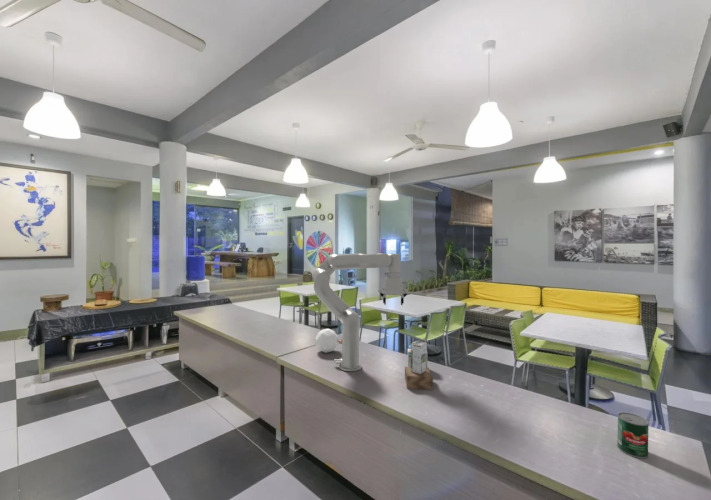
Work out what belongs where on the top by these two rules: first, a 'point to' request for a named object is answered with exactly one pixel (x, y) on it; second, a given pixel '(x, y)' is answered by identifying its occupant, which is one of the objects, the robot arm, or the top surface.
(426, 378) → the walnut block
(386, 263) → the robot arm
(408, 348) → the light bulb box
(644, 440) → the canned tomato
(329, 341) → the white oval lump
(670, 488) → the top surface
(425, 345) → the syrup box
